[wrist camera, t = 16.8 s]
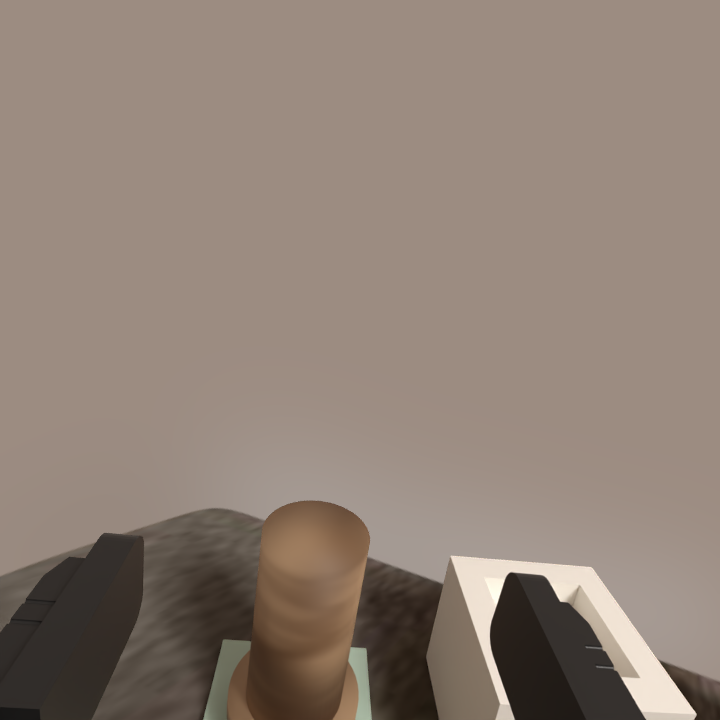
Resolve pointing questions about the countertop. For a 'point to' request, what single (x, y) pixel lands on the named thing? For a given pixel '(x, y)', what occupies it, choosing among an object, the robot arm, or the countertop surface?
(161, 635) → the countertop surface
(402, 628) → the countertop surface
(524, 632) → the robot arm
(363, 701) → the mat
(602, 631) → the white socket block
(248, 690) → the flanged wooden peg
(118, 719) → the countertop surface
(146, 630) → the countertop surface
